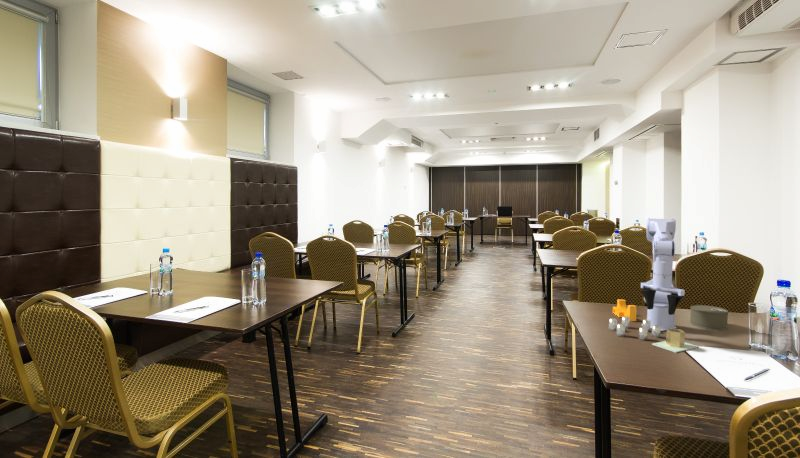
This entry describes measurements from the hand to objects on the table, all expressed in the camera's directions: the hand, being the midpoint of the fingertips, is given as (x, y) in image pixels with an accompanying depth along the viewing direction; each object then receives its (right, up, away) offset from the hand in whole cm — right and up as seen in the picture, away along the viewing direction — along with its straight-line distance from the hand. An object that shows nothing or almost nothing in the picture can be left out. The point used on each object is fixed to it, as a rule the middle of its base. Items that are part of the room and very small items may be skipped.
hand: (660, 311), depth 145 cm
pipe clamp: (+1, -8, +26) cm, 28 cm away
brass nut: (-1, -10, -8) cm, 13 cm away
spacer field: (-7, -9, +5) cm, 12 cm away
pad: (0, -10, -8) cm, 13 cm away
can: (+29, -9, +15) cm, 34 cm away
